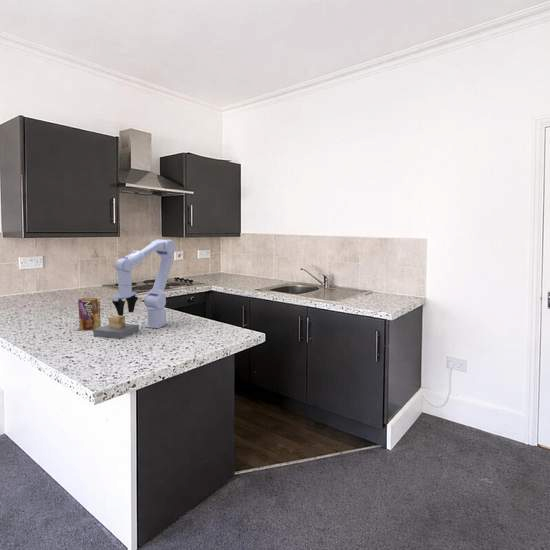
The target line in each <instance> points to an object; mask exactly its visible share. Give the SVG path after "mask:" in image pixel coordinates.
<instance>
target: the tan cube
mask: <svg viewBox="0 0 550 550" xmlns="http://www.w3.org/2000/svg"><path fill="white" fill-rule="evenodd" d="M125 324H126V315H123V316H118V314H117V315H112V316H108V325H109V328H113V329H120V328H122V327H125Z"/></svg>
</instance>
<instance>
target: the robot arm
mask: <svg viewBox="0 0 550 550" xmlns="http://www.w3.org/2000/svg"><path fill="white" fill-rule="evenodd" d="M175 250H176V244H175V242H174V241H173V240H172V239H157V238H156V239H154V240H152V241H151V243H150V244H148V245H147V246H145V247H144V248H143V249H141V250H132V252H131V253H130V254H128V255H125V256H124V257H123V258H119V259H117V260H116V261H115V264H114V268H115V270H116V274H117V284H118V285H117V286H118V287H117V288H118V289H117V290H118V293H117V294H116V295H114V296H113V297H112V304H113V305H114V307H115V310H116V312H117V315H118V316H124V312H125V311H124V308H125V304H126V302H127V304H126V305H127V311H128V313H134V311H135V308H136V304H137V302H138V299H139V296H138V292H137V291H133V290H132V289H133V288H132V287H133V286H132V285H133V284H132V282H133V281H132V271H133V270H134V268H135V267H136V266H137V265H138V264H140V263H142V262H143V261H144V260H145V257H147V256H149V255H151V254H152V253H154V252H156V253H157V255H158V256H159V257H160V258H161V261H160V264H159V266H158V267H159V268H158V270H157V273H156V277H155V280H154V284H153V287H152V288H151V289H150V290H149V291H148V292H147V294H146V296H145V297H144V299H143V304H144V306H145V307H146V310H147V324H145V325H144V328H149V329H150V328H151V329H160V328H162V327H164V326H167V325H168V324H169V323H167V311H166V308H164V307H166V303H167V294H166V292H165V288H166V286H167V282H168V278H169V275H170V272H171V268H172V265H173V262H174V257H175V256H174V255H175ZM166 324H167V325H166Z"/></svg>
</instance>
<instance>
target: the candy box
mask: <svg viewBox="0 0 550 550" xmlns="http://www.w3.org/2000/svg"><path fill="white" fill-rule="evenodd" d="M100 298H101V297H100V296H98V297H97V296H95V297H94V296H93V297H91V296H90V297H88V296H87V297H84V296H83V297H79V298H77V302H78V304H77V305H78V306H77V307H78V321H79V323H78V324H79V330H80V331H82V330H83V331H84V330H85V331H88V330H94V329H97V328H100V327H102V325H101V324H102V323H101V299H100Z"/></svg>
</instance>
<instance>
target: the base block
mask: <svg viewBox="0 0 550 550" xmlns="http://www.w3.org/2000/svg"><path fill="white" fill-rule="evenodd" d="M92 330H93V334H92V335H93V337H99V338H107V339H108V338H109V339H120V340H121V339H123V338H126V337H128V336H130V335H134V334H135V332H136V333H138V332H140V325H139V324H133V323H132V324H130V323H125V327H122V328H120V329H113V328H109V324H106V325H103V326H101V327H100V328H97V329H92Z"/></svg>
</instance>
